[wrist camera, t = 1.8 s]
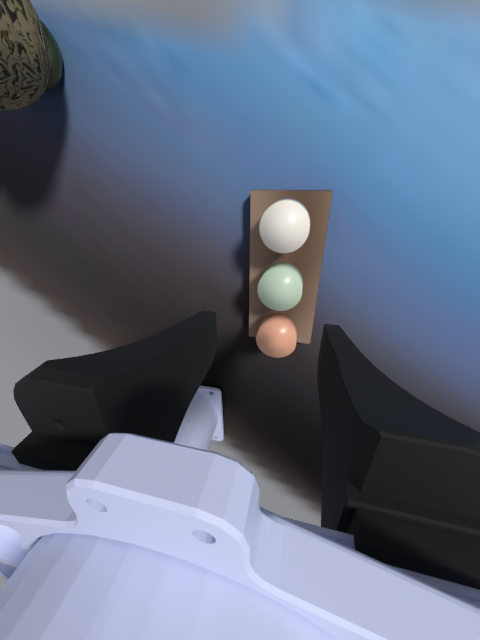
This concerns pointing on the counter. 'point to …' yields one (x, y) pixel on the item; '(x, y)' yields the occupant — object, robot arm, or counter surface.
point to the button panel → (289, 257)
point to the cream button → (285, 225)
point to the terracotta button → (277, 335)
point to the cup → (25, 56)
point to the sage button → (280, 286)
